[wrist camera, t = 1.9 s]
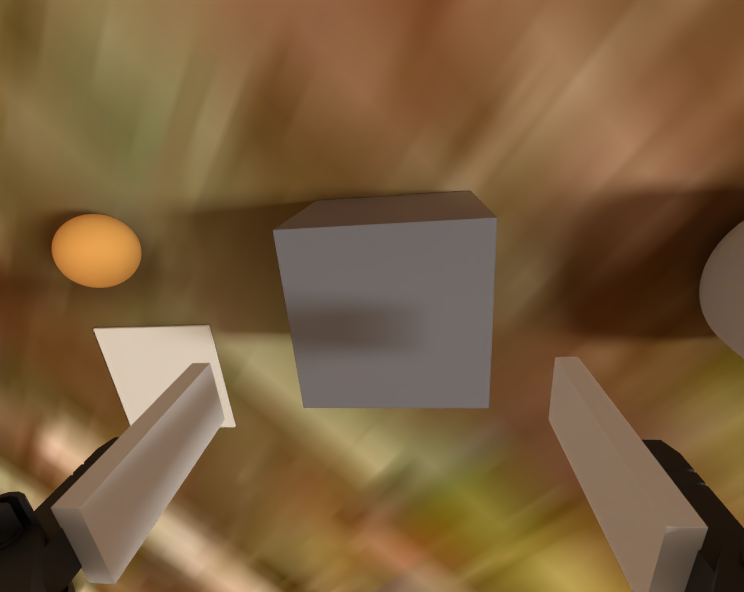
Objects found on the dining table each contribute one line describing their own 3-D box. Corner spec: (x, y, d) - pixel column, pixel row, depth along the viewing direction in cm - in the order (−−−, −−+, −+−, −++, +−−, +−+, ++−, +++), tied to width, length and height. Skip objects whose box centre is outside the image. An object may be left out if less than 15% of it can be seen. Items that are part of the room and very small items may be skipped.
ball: (81, 210, 28) (17, 224, 24) (145, 205, 28) (91, 220, 23) (104, 275, 30) (49, 300, 26) (164, 272, 30) (118, 297, 25)
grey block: (316, 200, 26) (272, 230, 18) (470, 190, 25) (497, 217, 17) (333, 334, 30) (303, 407, 22) (467, 331, 29) (488, 408, 21)
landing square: (95, 327, 32) (93, 328, 32) (209, 324, 31) (208, 326, 31) (132, 424, 36) (130, 426, 36) (235, 425, 35) (234, 427, 35)
